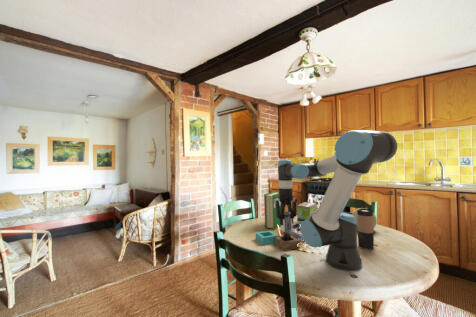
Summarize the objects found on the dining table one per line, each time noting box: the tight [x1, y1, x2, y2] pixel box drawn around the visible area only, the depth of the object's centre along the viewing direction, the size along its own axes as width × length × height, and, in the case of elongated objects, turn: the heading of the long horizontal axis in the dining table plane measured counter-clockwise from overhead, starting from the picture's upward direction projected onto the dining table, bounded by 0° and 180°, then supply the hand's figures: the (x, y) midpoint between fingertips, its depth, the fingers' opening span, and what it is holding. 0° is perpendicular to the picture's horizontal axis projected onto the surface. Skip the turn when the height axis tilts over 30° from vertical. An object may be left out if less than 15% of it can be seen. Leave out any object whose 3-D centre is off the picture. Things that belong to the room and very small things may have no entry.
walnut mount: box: [274, 235, 301, 251], centre depth 123 cm, size 10×10×5 cm
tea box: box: [296, 201, 318, 225], centre depth 166 cm, size 15×10×15 cm, turn 143°
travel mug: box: [357, 208, 375, 250], centre depth 121 cm, size 8×8×20 cm
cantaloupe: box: [351, 207, 378, 229], centre depth 148 cm, size 15×15×15 cm
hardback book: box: [263, 190, 286, 231], centre depth 163 cm, size 18×7×24 cm, turn 144°
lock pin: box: [282, 210, 292, 241], centre depth 123 cm, size 5×5×16 cm
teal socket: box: [255, 230, 279, 246], centre depth 131 cm, size 10×10×5 cm
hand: (286, 230), depth 123 cm, fingers closed on lock pin, 4 cm apart
